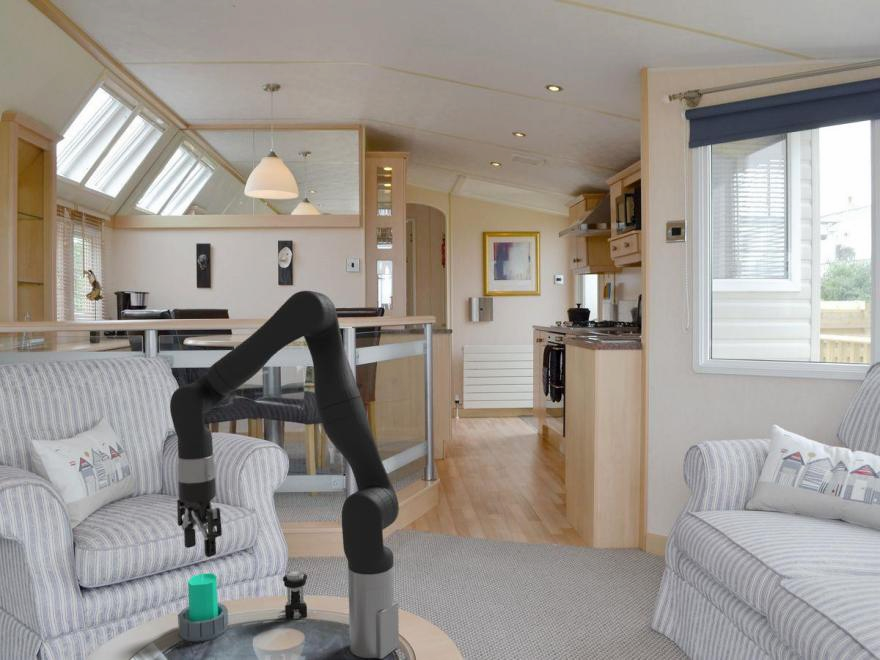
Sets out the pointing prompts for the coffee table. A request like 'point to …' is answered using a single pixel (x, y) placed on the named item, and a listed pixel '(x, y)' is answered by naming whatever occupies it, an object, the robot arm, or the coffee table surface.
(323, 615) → the coffee table surface
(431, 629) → the coffee table surface
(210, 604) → the candle
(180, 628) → the candle dish
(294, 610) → the push button
